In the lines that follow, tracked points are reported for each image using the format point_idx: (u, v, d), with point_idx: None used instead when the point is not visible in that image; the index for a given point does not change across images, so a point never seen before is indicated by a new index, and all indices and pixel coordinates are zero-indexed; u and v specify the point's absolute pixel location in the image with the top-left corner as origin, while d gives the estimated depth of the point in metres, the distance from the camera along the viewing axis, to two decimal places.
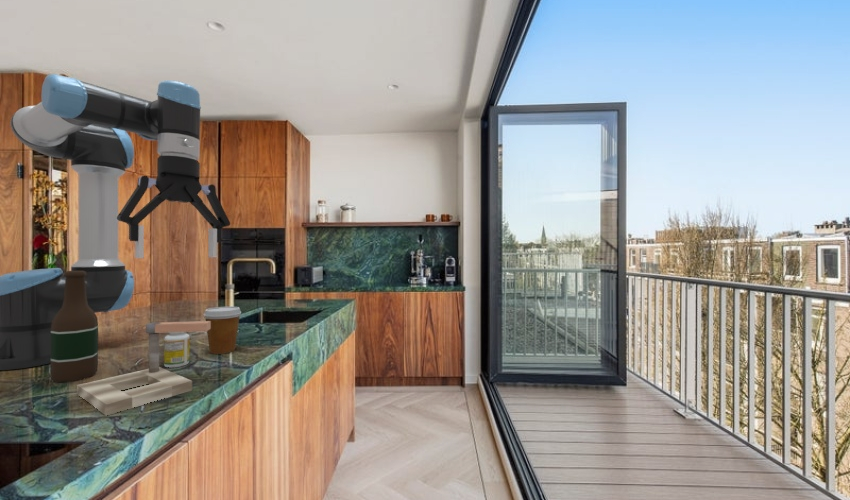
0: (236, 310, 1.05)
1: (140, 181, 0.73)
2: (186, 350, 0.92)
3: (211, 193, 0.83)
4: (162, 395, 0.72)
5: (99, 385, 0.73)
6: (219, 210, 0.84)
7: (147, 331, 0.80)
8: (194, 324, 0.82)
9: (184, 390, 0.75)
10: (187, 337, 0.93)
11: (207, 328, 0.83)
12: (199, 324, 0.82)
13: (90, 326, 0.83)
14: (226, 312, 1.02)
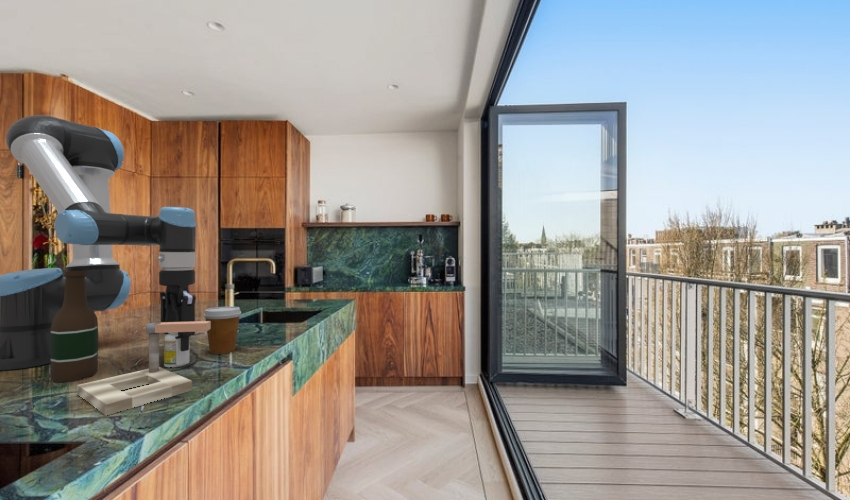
0: (236, 310, 1.05)
1: None
2: None
3: (182, 303, 0.89)
4: (162, 395, 0.72)
5: (99, 385, 0.73)
6: (182, 320, 0.89)
7: (147, 331, 0.80)
8: (194, 324, 0.82)
9: (184, 390, 0.75)
10: None
11: (207, 328, 0.83)
12: (199, 324, 0.82)
13: (90, 326, 0.83)
14: (226, 312, 1.02)
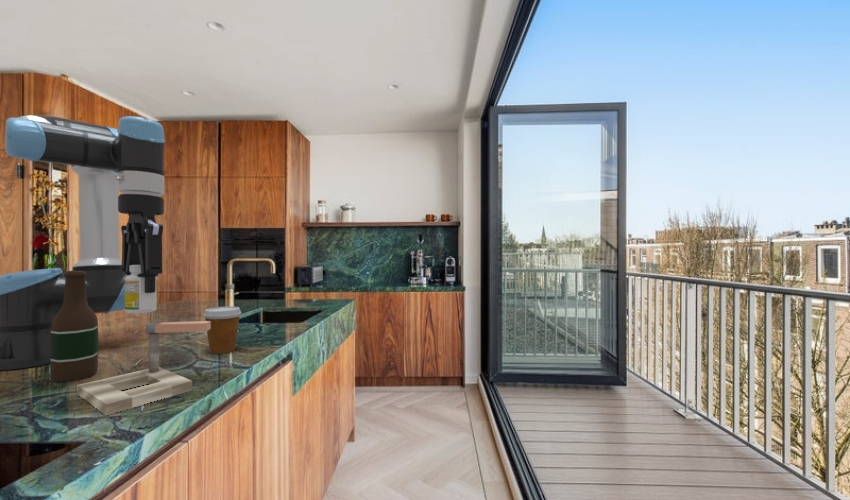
0: (236, 310, 1.05)
1: None
2: None
3: (146, 233, 0.72)
4: (162, 395, 0.72)
5: (99, 385, 0.73)
6: (146, 254, 0.72)
7: (147, 331, 0.80)
8: (194, 324, 0.82)
9: (184, 390, 0.75)
10: None
11: (207, 328, 0.83)
12: (199, 324, 0.82)
13: (90, 326, 0.83)
14: (226, 312, 1.02)
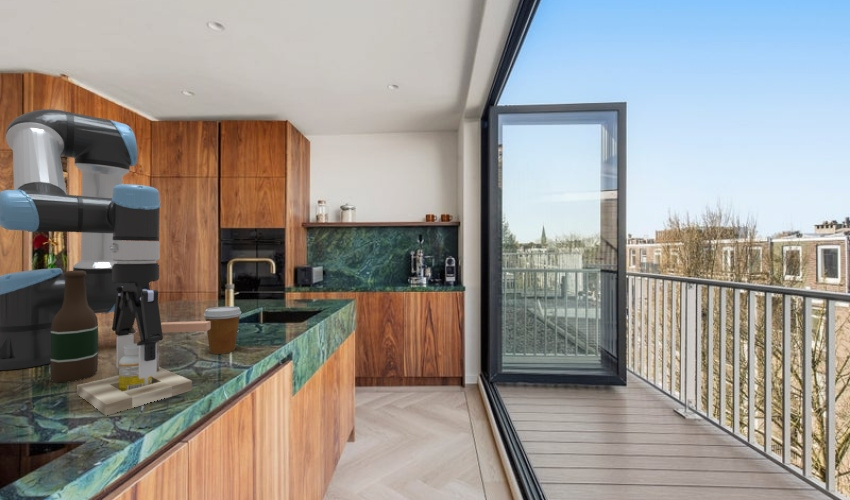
0: (236, 310, 1.05)
1: None
2: None
3: (141, 301, 0.71)
4: (162, 395, 0.72)
5: (99, 385, 0.73)
6: (143, 322, 0.70)
7: None
8: (194, 324, 0.82)
9: (184, 390, 0.75)
10: None
11: (207, 328, 0.83)
12: (199, 324, 0.82)
13: (90, 326, 0.83)
14: (226, 312, 1.02)
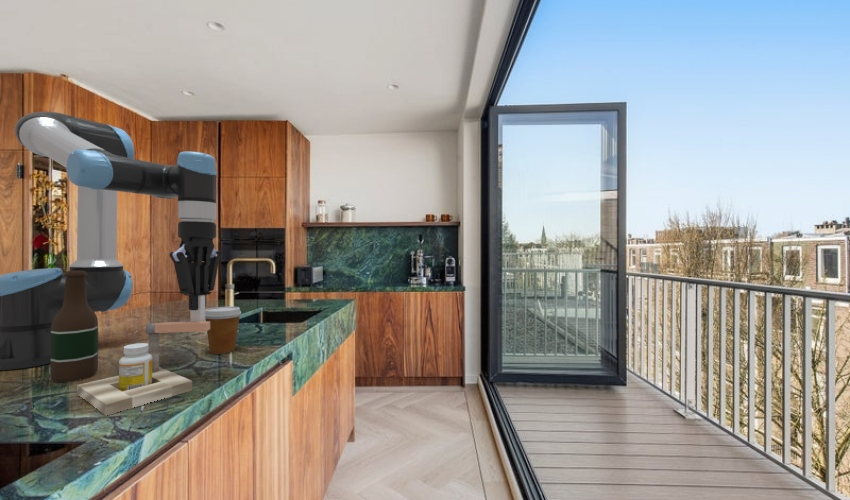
0: (236, 310, 1.05)
1: None
2: (147, 375, 0.74)
3: None
4: (162, 395, 0.72)
5: (99, 385, 0.73)
6: None
7: (147, 331, 0.80)
8: (193, 324, 0.82)
9: (184, 390, 0.75)
10: (148, 359, 0.75)
11: (206, 328, 0.83)
12: (198, 324, 0.82)
13: (90, 326, 0.83)
14: (226, 312, 1.02)
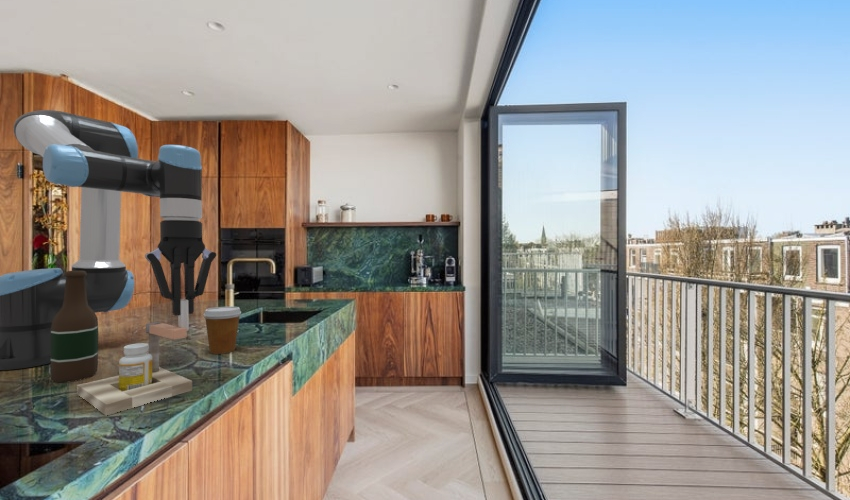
0: (236, 310, 1.05)
1: None
2: (147, 375, 0.74)
3: None
4: (162, 395, 0.72)
5: (99, 385, 0.73)
6: None
7: None
8: (168, 330, 0.76)
9: (184, 390, 0.75)
10: (148, 359, 0.75)
11: (176, 336, 0.76)
12: (170, 331, 0.76)
13: (90, 326, 0.83)
14: (226, 312, 1.02)
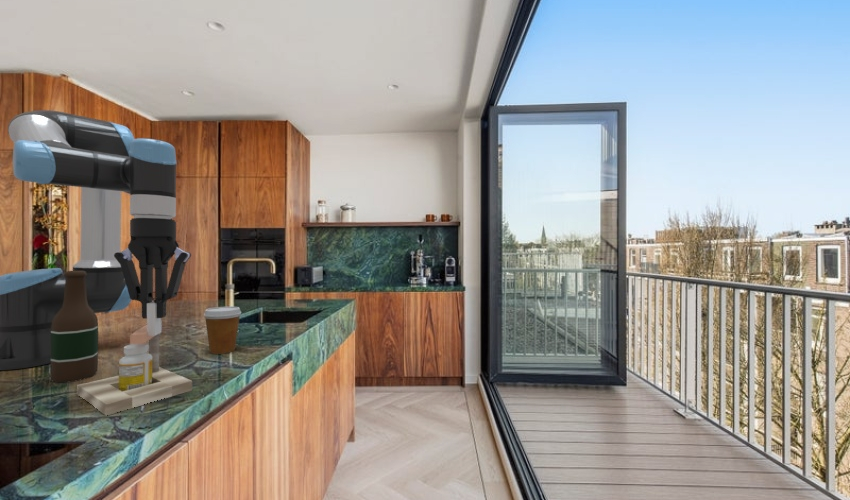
0: (236, 310, 1.05)
1: (187, 259, 0.77)
2: (147, 375, 0.74)
3: None
4: (162, 395, 0.72)
5: (99, 385, 0.73)
6: None
7: None
8: None
9: (184, 390, 0.75)
10: (148, 359, 0.75)
11: (133, 341, 0.71)
12: None
13: (90, 326, 0.83)
14: (226, 312, 1.02)
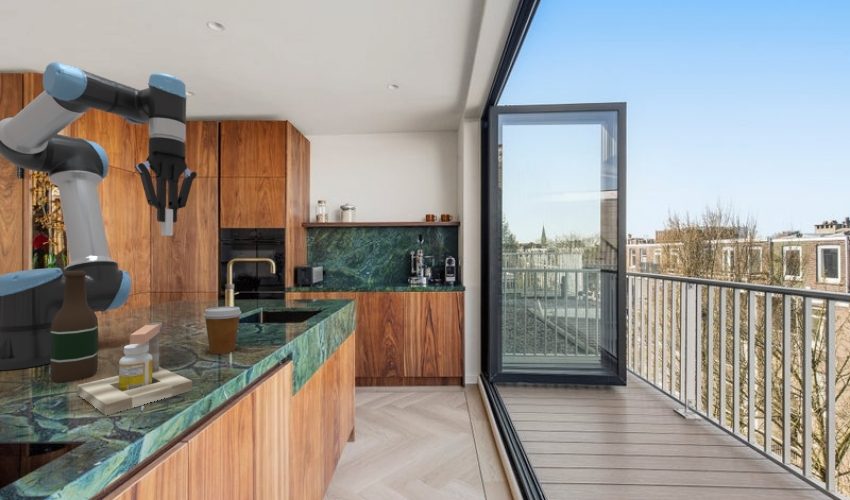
0: (236, 310, 1.05)
1: None
2: (147, 375, 0.74)
3: None
4: (162, 395, 0.72)
5: (99, 385, 0.73)
6: None
7: None
8: None
9: (184, 390, 0.75)
10: (149, 359, 0.75)
11: (133, 341, 0.71)
12: None
13: (90, 326, 0.83)
14: (226, 312, 1.02)
